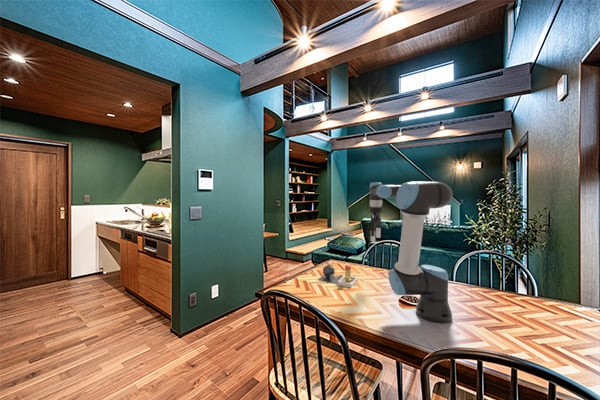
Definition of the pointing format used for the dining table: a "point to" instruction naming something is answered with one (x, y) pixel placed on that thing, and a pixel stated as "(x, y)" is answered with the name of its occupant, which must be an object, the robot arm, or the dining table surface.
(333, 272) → the pulley block
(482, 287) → the dining table surface
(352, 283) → the tray
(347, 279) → the lock pin
